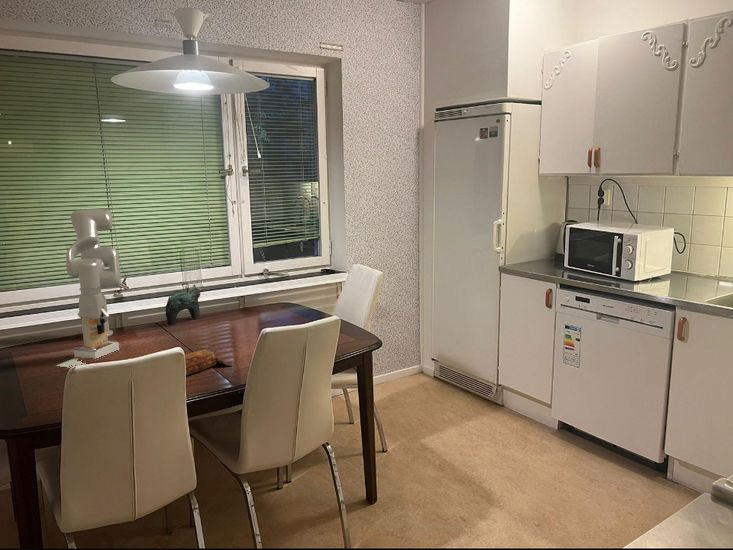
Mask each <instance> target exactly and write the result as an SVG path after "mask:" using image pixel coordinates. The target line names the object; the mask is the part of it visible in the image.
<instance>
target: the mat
mask: <svg viewBox="0 0 733 550" xmlns="http://www.w3.org/2000/svg"><path fill="white" fill-rule="evenodd" d="M78 359H79V358H74V357H73V358H71V359H69V360H67V361H64V362H62V363H59V364H57V365H55V366H60V367H67V368H66V369H68V368H70V367H72V366H75V365H81V364H86V363H82V362H81V361H82V360H81V361H77V360H78ZM71 365H72V366H71ZM69 366H70V367H69Z"/></svg>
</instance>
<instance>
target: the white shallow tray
mask: <svg viewBox="0 0 733 550" xmlns="http://www.w3.org/2000/svg"><path fill="white" fill-rule="evenodd" d="M72 349H73V358H74V357H81V358H93V359H96V358H99V357H101V356H104V355H107V354H109V353H111V352H114V351H116V350H118V351H120V345H119V342H117V341H109V340H108V344H106V345H102V346H99V347H96V348H93V349H88V348H85V347H84V345H83V346H79V347H75V346H73V348H72ZM97 349H98V350H97ZM116 352H117V351H116ZM114 353H115V352H114ZM111 354H112V353H111ZM109 355H110V354H109ZM107 356H108V355H107ZM104 357H105V356H104Z"/></svg>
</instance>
